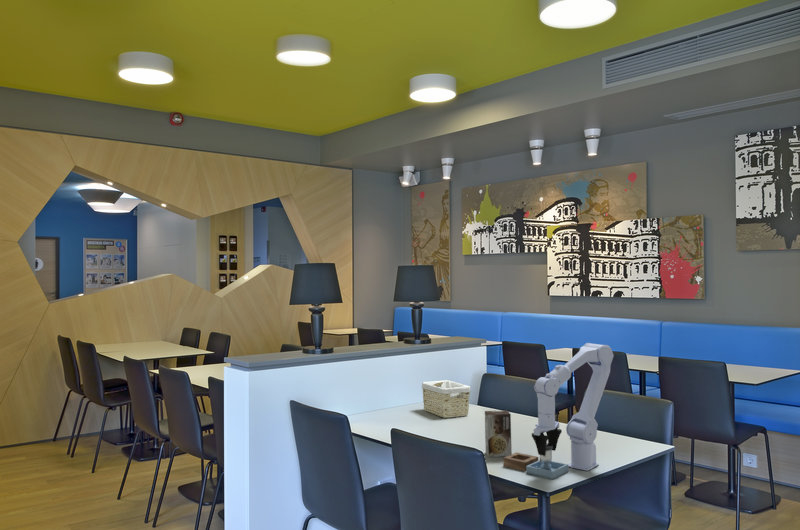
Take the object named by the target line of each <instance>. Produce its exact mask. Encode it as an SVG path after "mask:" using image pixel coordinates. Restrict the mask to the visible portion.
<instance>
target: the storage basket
mask: <svg viewBox="0 0 800 530" xmlns="http://www.w3.org/2000/svg"><path fill="white" fill-rule="evenodd" d="M421 388H422V400H423V401H422V402H423V410H424V411H425V412H428V413H430V414H432V415H434V416H435V415H436V416H438V417H441V418H444V419H446V418H449V419H450V418H455V417H456V418H457V417H464V416H465V417H467V416H468V415H469V408H470V397H471V395H470V394H471V386H470V385H467V384H462V383H460V382H457V381H452V380H449V379H444V380H443V379H442V380H434V381H433V380H432V381H423V382H422V384H421Z"/></svg>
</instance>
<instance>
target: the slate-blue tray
mask: <svg viewBox="0 0 800 530" xmlns="http://www.w3.org/2000/svg"><path fill="white" fill-rule="evenodd" d="M525 472H526V474H527V475H532V476H536V477H540V478H544V479H549V480H555V479H557V478H559V477H560V476H562V475H564V474H566V473H568V472H569V467H568V463H563V462H558V461H553V460H552V471H549V470H544V469H540V459H538V461H537V462H535V463H532V464H530V465H528V466H526V471H525Z"/></svg>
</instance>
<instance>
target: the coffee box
mask: <svg viewBox="0 0 800 530" xmlns="http://www.w3.org/2000/svg"><path fill="white" fill-rule="evenodd" d="M511 417H512V415H511V413H510V412H509V410H484V435H485V436H484V438H485V454H486V455H487V457H488V458H499V457H500V458H501V457H503V458H504V457H507V456H509V455H511V454H513V452H512V422H511V421H512V419H511Z"/></svg>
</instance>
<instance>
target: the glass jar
mask: <svg viewBox="0 0 800 530" xmlns="http://www.w3.org/2000/svg"><path fill="white" fill-rule="evenodd" d="M552 449H553V445H552V444H549V443H548V442H547V443H546V452H545V455H544V456H543V455H539V460H540V469H544V470H549V471H552V461H553V458H552V457H553V455H552V452H553V450H552Z"/></svg>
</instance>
